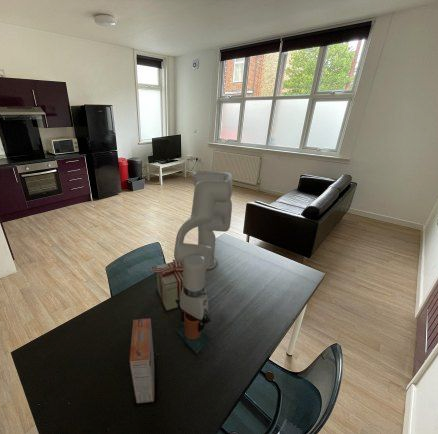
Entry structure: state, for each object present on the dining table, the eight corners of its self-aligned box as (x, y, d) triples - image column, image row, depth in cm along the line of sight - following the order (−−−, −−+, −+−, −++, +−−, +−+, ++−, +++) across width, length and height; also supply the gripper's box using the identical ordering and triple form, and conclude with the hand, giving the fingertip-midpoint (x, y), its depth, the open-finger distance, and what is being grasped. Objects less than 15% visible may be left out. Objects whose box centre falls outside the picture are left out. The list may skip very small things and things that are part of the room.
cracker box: (137, 360, 86) (132, 318, 77) (154, 359, 86) (151, 317, 77) (134, 404, 73) (128, 360, 64) (154, 402, 73) (150, 358, 64)
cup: (180, 332, 92) (180, 315, 88) (190, 321, 97) (190, 305, 93) (194, 342, 89) (195, 325, 85) (204, 330, 93) (205, 313, 90)
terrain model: (211, 342, 92) (211, 338, 91) (196, 354, 88) (196, 351, 87) (188, 321, 101) (188, 318, 100) (174, 332, 97) (174, 328, 96)
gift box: (180, 278, 126) (180, 250, 119) (198, 301, 111) (199, 272, 104) (150, 288, 120) (148, 259, 112) (164, 314, 104) (163, 283, 97)
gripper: (221, 292, 81) (217, 329, 89) (180, 273, 91) (180, 307, 99) (209, 306, 76) (206, 343, 84) (168, 283, 86) (169, 319, 93)
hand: (192, 324), depth 91 cm, fingers closed on cup, 6 cm apart
